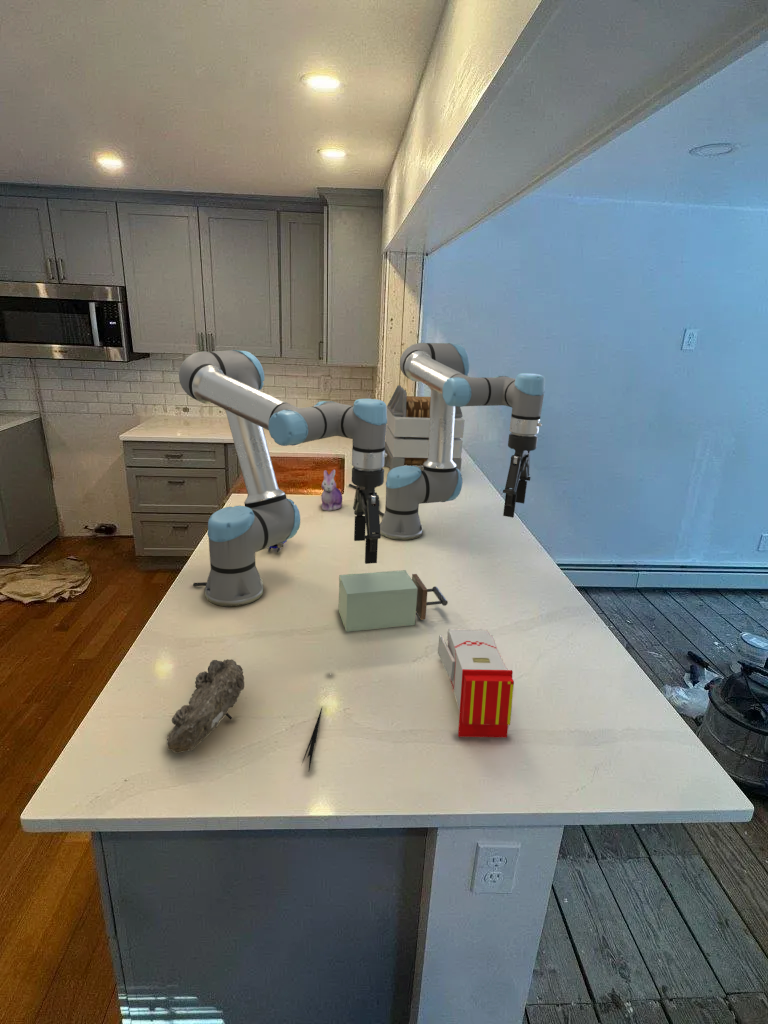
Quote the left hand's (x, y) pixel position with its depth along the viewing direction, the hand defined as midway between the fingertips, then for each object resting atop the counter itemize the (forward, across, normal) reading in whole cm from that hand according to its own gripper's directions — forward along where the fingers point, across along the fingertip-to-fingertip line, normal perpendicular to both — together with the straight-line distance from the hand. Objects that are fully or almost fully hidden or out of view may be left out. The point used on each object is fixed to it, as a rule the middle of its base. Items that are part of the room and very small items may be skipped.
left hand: (364, 551), depth 139 cm
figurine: (+19, +84, -5) cm, 86 cm away
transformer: (+19, +129, -54) cm, 141 cm away
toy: (+18, -33, -16) cm, 41 cm away
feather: (+18, -36, +16) cm, 43 cm away
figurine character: (+19, +49, +19) cm, 55 cm away
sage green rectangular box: (+19, -1, -3) cm, 19 cm away
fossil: (+19, -32, +36) cm, 51 cm away
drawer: (+18, -1, -10) cm, 20 cm away
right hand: (-5, +11, -44) cm, 46 cm away
